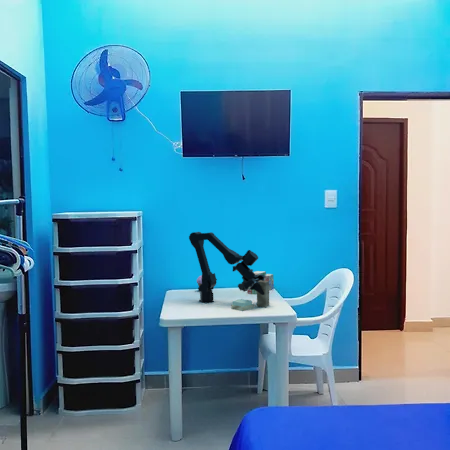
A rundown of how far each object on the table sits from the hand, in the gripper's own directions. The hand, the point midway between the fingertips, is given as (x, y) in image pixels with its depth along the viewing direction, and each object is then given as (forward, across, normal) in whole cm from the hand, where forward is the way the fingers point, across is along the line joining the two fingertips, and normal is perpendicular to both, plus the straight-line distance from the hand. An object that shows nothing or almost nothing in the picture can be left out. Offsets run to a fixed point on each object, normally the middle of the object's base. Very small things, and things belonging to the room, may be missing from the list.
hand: (265, 293), depth 242 cm
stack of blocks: (-7, -38, -17) cm, 43 cm away
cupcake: (-31, -28, -40) cm, 58 cm away
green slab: (-3, +9, -10) cm, 14 cm away
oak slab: (-2, +9, -12) cm, 15 cm away
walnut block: (+4, 0, -6) cm, 7 cm away
